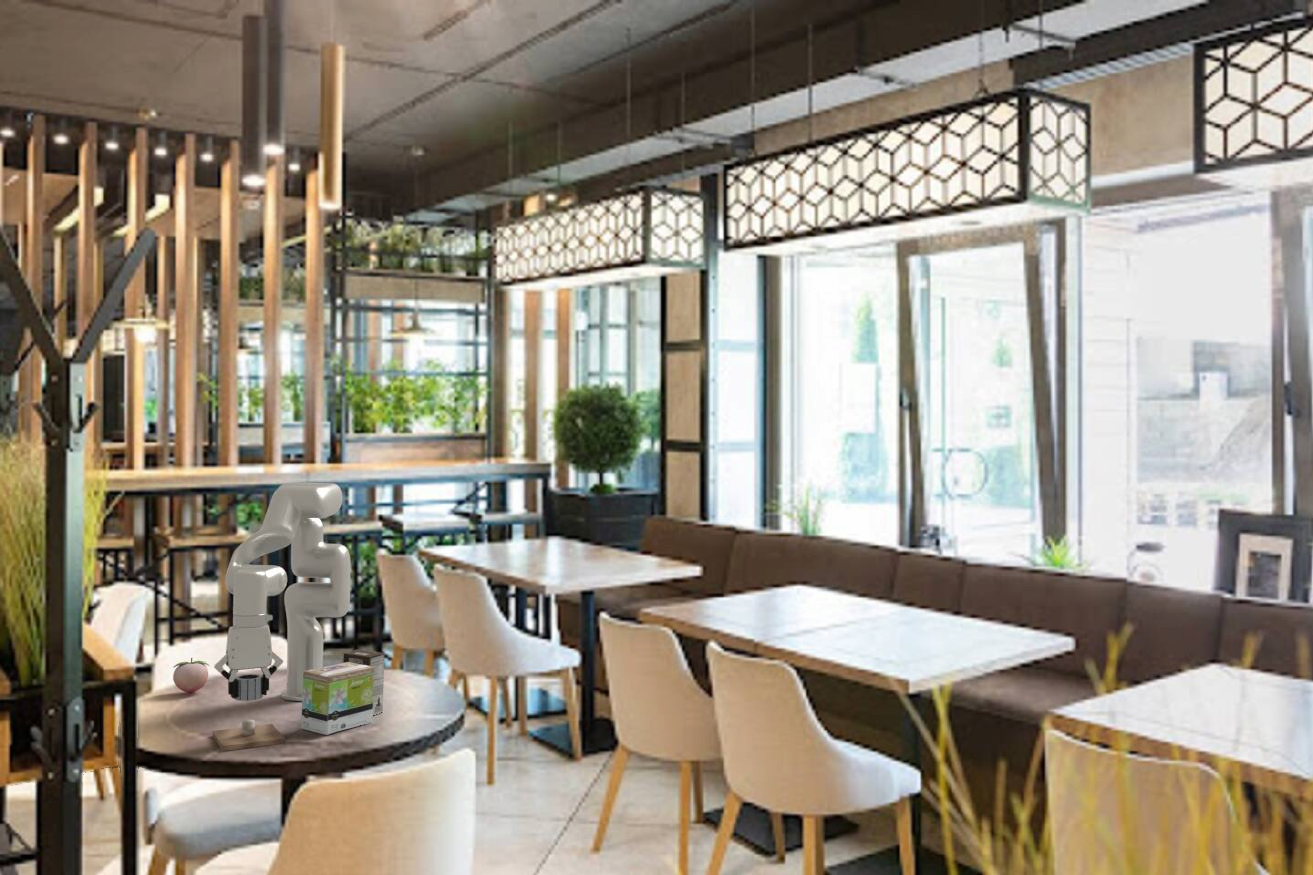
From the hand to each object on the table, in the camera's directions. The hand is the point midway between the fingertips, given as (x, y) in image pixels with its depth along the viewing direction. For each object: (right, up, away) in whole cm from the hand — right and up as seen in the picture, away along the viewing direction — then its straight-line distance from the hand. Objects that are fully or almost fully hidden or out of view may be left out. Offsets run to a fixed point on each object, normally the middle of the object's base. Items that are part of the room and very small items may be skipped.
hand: (248, 694), depth 267 cm
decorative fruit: (-31, -10, +42) cm, 54 cm away
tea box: (+18, -11, +13) cm, 25 cm away
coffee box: (+21, -11, +26) cm, 35 cm away
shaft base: (0, -11, 0) cm, 11 cm away
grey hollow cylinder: (0, -1, 0) cm, 1 cm away
